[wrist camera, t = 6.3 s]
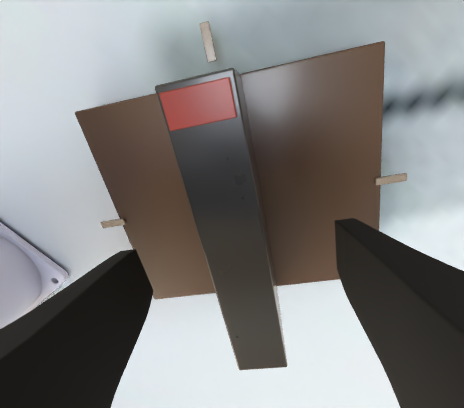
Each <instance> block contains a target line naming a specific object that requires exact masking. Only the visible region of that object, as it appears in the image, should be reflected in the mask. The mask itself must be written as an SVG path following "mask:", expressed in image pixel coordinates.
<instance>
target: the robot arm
mask: <svg viewBox="0 0 464 408" xmlns="http://www.w3.org/2000/svg"><path fill="white" fill-rule="evenodd" d="M335 241H336V262H337V271H338V274H339V277H340V279H341V282H342V285H343V287H344V290H345V293H346V295H347V297H348V299H349V301H350V303H351V305H352V307H353V309H354V311H355V313H356V315H357V317H358V319H359V321H360V323H361V325H362V327H363V329H364V331H365V332H366V334H367V336H368V338H369V340H370V342H371V344H372V346H373V348H374V350H375V352H376V354H377V356H378V357H379V359H380V361H381V363H382V365H383V368H384V370H385V372H386V374H387V376H388V378H389V381H390V383H391V385H392V388H393V390H394V393H395V395H396V398H397V400H398V402H399V405H400V407H401V408H464V271H462V270H460V269H457V268H455V267H452V266H450V265H448V264H445V263H443V262H441V261H439V260H437V259H434V258H432V257H430V256H428V255H426V254H423V253H421V252H419V251H417V250H415V249H413V248H411V247H409V246H407V245H405V244H403V243H401V242H399V241H397V240H395V239H393V238H391V237H389V236H388V235H386V234H384V233H382V232H380V231H378V230H376V229H374V228H373V227H371V226H369V225H367V224H365V223H363V222H361V221H359V220H357V219H355V218H349V219H342V220H335ZM67 278H68V273H67V272H66V271H65V270H64V269H62V268H61V267H60V266H58V265H57V264H56V263H54V262H53V261H52V260H50V259H49V258H48V257H46V256H45V255H44V254H42V253H41V252H40V251H38V250H37V249H36V248H34V247H33V246H32V245H30V244H29V243H28V242H26V241H25V240H24V239H22V238H21V237H19V236H18V235H17V234H15V233H14V232H13V231H11V230H10V229H9V228H7V227H6V226H5V225H3V224H2V223H1V222H0V408H110V407H111V404H112V401H113V398H114V395H115V392H116V390H117V387H118V384H119V382H120V379H121V377H122V375H123V372H124V370H125V367H126V365H127V363H128V360H129V358H130V356H131V353H132V351H133V349H134V346H135V344H136V342H137V339H138V337H139V334H140V332H141V330H142V327H143V325H144V322H145V320H146V317H147V314H148V311H149V307H150V303H151V299H152V295H153V288H152V286H151V283H150V281H149V279H148V276H147V274H146V272H145V269H144V267H143V265H142V262H141V260H140V257H139V255H138V253H137V250H136V249H133V250H126V251H120V252H119V253H117V254H115V255H113V256H112V257H110V258H108V259H107V260H105V261H104V262H102V263H101V264H99V265H98V266H96V267H95V268H94V269H92V270H91V271H89V272H88V273H86V274H85V275H83V276H82V277H81V278H79V279H78V280H76V281H75V282H73V283H72V284H70V285H69V286H68V287H66V288H65V289H63V290H62V291H60V292H59V293H57V294H56V295H54V296H53V297H51V298H50V299H48V300H47V301H45V302H43V303H42V304H40V303H41V302H42V301H43V300H44V299H45V298H47V297H48V296H49V295H50V294H51V293H52V292H53V291H54V290H55V289H57V288H58V287H59V286H60V285H61V284H62V283H63V282H64V281H65V280H66V279H67ZM39 304H40V305H39ZM38 305H39V306H38ZM35 307H36V308H35Z"/></svg>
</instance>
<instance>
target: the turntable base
mask: <svg viewBox="0 0 464 408" xmlns="http://www.w3.org/2000/svg"><path fill="white" fill-rule="evenodd" d="M200 28H201V32H202V37H203V42H204V46H205V51H206V56H207V60H208V62H213V61H216V56H215V51H214V46H213V41H212V36H211V31H210V26H209V22H208V21H207V22H204V23H200ZM384 55H385V42H384V41H381V42H377V43H373V44H368V45H364V46H360V47H355V48H351V49H347V50H342V51H338V52H334V53H329V54H325V55H321V56H316V57H312V58H308V59H303V60H299V61H294V62H290V63H286V64H281V65H277V66H273V67H268V68H264V69H260V70H255V71H251V72H247V73H242V74H240V75H241V79H242V85H243V90H244V96H245V102H246V108H247V114H248V120H249V126H250V131H251V137H252V143H253V149H254V155H255V161H256V167H257V172H258V178H259V184H260V190H261V196H262V202H263V208H264V213H265V219H266V225H267V231H268V237H269V243H270V249H271V254H272V260H273V266H274V272H275V278H276V284H277V286H282V285H291V284H300V283H309V282H318V281H327V280H336V279H340V277H339V274H338V271H337V262H336V241H335V220H342V219H349V218H355V219H357V220H359V221H361V222H363V223H365V224H367V225H369V226H371V227H373V228H374V229H376V230H378V231H379V210H380V185H382V184H389V183H395V182H401V181H406V180H407V174H406V173H402V174H396V175H390V176H383V177H381V148H382V117H383V86H384ZM75 115H76V117H77V119H78V122H79V124H80V126H81V129H82V131H83V133H84V136H85V138H86V140H87V143H88V145H89V147H90V150H91V152H92V154H93V157H94V159H95V161H96V164H97V166H98V168H99V171H100V173H101V175H102V178H103V180H104V182H105V185H106V187H107V189H108V192H109V194H110V196H111V199H112V201H113V203H114V206H115V208H116V210H117V213H118V215H119V217H120V219H115V220H109V221H103V222H101V225H102V227H103V228H107V227H113V226H120V225H123V227H124V229H125V231H126V234H127V236H128V238H129V241H130V243H131V245H132V248H133V249H136V250H137V253H138V255H139V257H140V260H141V262H142V265H143V267H144V269H145V272H146V274H147V276H148V279H149V281H150V283H151V286H152V288H153V297H154V299H163V298H172V297H181V296H191V295H200V294H209V293H216V291H215V288H214V284H213V281H212V278H211V274H210V271H209V268H208V264H207V261H206V257H205V254H204V251H203V247H202V244H201V241H200V237H199V234H198V231H197V227H196V224H195V221H194V217H193V214H192V210H191V207H190V204H189V200H188V197H187V194H186V190H185V187H184V184H183V180H182V177H181V174H180V170H179V167H178V163H177V160H176V157H175V153H174V150H173V147H172V143H171V140H170V137H169V133H168V130H167V126H166V123H165V120H164V116H163V113H162V110H161V106H160V103H159V100H158V96H157V93H155V94H151V95H147V96H142V97H138V98H134V99H129V100H125V101H121V102H116V103H112V104H107V105H103V106H99V107H94V108H90V109H86V110H81V111H77V112H75Z"/></svg>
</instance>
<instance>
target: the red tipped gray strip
mask: <svg viewBox="0 0 464 408" xmlns="http://www.w3.org/2000/svg"><path fill="white" fill-rule="evenodd" d="M155 90H156V93H157V96H158V100H159V103H160V106H161V110H162V113H163V116H164V120H165V123H166V126H167V130H168V133H169V137H170V140H171V143H172V147H173V150H174V153H175V157H176V160H177V163H178V167H179V170H180V174H181V177H182V180H183V184H184V187H185V190H186V194H187V197H188V200H189V204H190V207H191V210H192V214H193V217H194V221H195V224H196V227H197V231H198V234H199V237H200V241H201V244H202V247H203V251H204V254H205V257H206V261H207V264H208V268H209V271H210V274H211V278H212V281H213V284H214V288H215V291H216V294H217V298H218V301H219V305H220V308H221V311H222V315H223V318H224V321H225V325H226V328H227V331H228V335H229V338H230V341H231V345H232V348H233V352H234V355H235V358H236V362H237V365H238V368H239V370H248V369H263V368H278V367H287V359H286V352H285V344H284V336H283V329H282V321H281V313H280V306H279V298H278V290H277V284H276V278H275V272H274V266H273V260H272V254H271V249H270V243H269V237H268V231H267V225H266V219H265V213H264V208H263V202H262V196H261V190H260V184H259V178H258V172H257V167H256V161H255V155H254V149H253V143H252V137H251V131H250V126H249V120H248V114H247V108H246V102H245V96H244V90H243V85H242V79H241V75H240V74H239V73H238V72H237V71H236V70H235V69H234V68H229V69H225V70H221V71H216V72H212V73H208V74H204V75H199V76H195V77H191V78H187V79H182V80H178V81H174V82H169V83H165V84H161V85H157V86H155Z"/></svg>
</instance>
